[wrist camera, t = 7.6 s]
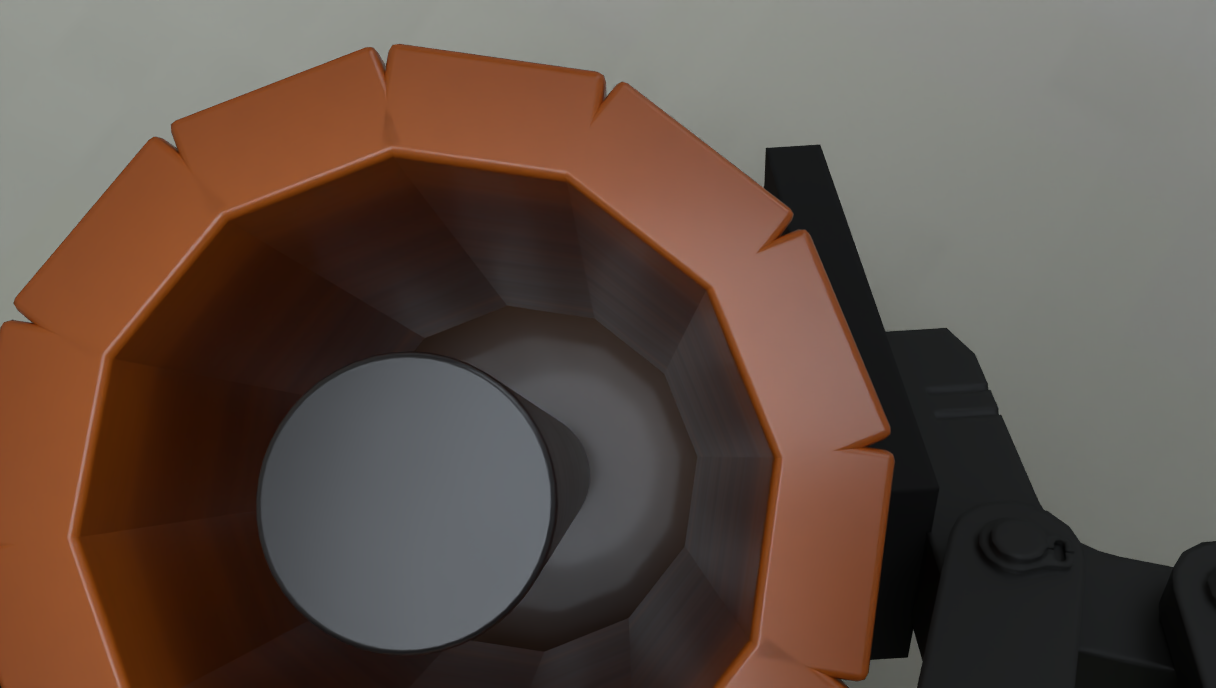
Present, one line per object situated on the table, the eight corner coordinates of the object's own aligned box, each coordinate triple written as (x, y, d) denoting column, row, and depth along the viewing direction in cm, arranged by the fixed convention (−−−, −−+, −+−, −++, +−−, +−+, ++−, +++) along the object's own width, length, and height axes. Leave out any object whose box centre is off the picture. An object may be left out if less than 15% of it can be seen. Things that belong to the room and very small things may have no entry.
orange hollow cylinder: (492, 165, 20) (363, -123, 10) (842, 439, 20) (1073, 424, 10) (208, 512, 20) (-222, 571, 10) (560, 803, 19) (492, 1188, 9)
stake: (493, 129, 24) (325, -335, 10) (883, 434, 23) (1291, 399, 9) (176, 515, 23) (-493, 605, 9) (570, 840, 22) (498, 1472, 8)
